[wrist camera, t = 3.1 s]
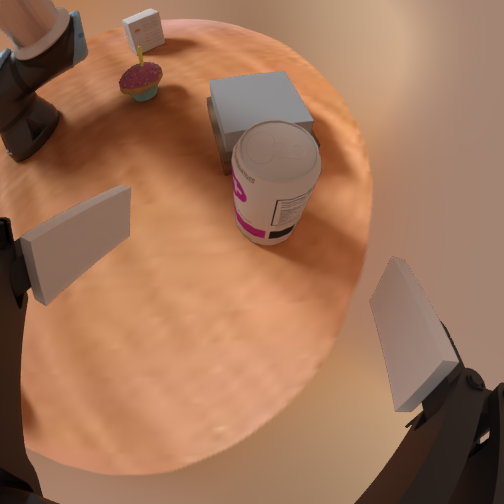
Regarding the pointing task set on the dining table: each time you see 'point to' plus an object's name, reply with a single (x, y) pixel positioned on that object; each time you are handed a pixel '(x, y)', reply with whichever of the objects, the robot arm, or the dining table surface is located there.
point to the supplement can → (273, 179)
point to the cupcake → (141, 79)
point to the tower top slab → (256, 103)
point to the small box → (144, 30)
